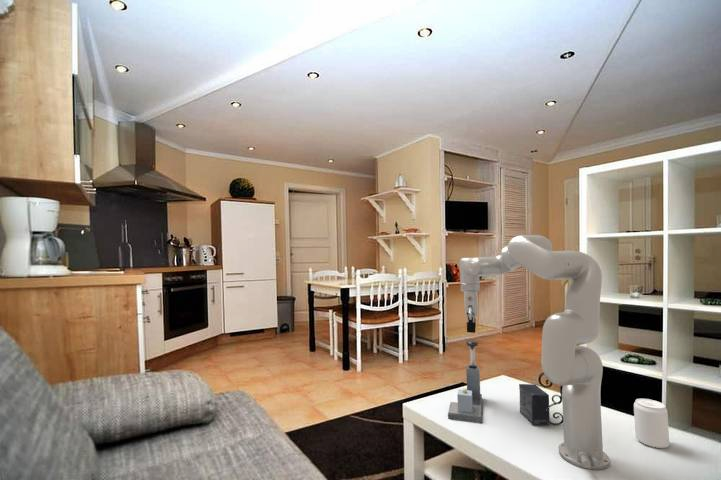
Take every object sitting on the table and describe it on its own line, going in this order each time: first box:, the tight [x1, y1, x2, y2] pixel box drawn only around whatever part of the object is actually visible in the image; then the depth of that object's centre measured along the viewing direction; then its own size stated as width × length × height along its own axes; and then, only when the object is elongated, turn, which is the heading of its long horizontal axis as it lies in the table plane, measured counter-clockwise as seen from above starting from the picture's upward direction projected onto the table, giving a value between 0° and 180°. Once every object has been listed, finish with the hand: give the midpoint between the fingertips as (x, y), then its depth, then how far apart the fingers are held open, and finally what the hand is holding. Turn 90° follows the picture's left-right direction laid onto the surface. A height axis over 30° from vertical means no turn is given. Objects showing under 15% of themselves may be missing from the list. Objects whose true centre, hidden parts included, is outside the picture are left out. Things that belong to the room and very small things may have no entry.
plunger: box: [465, 340, 479, 368], centre depth 143 cm, size 5×5×13 cm
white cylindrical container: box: [633, 398, 670, 449], centre depth 109 cm, size 8×8×12 cm
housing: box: [456, 388, 473, 413], centre depth 130 cm, size 5×5×7 cm
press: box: [447, 364, 483, 424], centre depth 136 cm, size 22×12×13 cm, turn 161°
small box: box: [518, 383, 551, 426], centre depth 126 cm, size 11×6×10 cm, turn 179°
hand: (471, 329), depth 144 cm, fingers open, 8 cm apart
